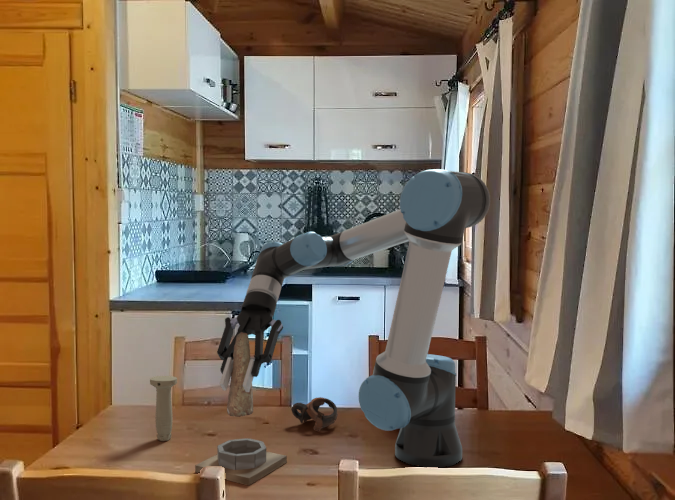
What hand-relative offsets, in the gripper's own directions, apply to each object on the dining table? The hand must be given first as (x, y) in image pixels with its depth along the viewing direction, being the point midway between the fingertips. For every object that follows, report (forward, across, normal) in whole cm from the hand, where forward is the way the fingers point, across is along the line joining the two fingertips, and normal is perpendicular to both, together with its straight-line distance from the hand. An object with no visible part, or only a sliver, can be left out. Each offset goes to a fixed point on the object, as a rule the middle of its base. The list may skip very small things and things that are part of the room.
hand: (234, 387), depth 138 cm
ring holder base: (+10, 0, -16) cm, 19 cm away
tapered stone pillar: (+2, 0, -8) cm, 8 cm away
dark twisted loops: (-11, -8, -38) cm, 40 cm away
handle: (+2, +25, -24) cm, 35 cm away
